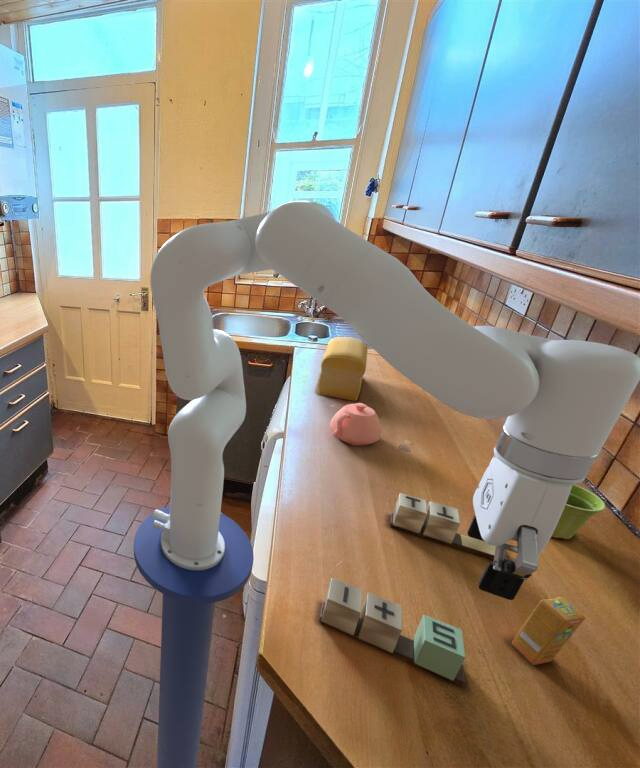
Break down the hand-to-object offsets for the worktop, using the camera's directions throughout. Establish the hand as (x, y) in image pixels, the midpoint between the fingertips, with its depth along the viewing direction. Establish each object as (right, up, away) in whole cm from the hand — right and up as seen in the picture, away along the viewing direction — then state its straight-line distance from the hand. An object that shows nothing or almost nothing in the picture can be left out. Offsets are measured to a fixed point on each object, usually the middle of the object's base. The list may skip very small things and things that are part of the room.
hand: (487, 564), depth 52 cm
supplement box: (+12, -16, +7) cm, 21 cm away
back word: (+15, -7, +26) cm, 31 cm away
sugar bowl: (+15, +8, +59) cm, 62 cm away
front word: (-8, -15, +8) cm, 19 cm away
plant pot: (+38, -6, +28) cm, 48 cm away
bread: (+29, +23, +92) cm, 99 cm away
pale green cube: (-3, -16, +5) cm, 17 cm away
